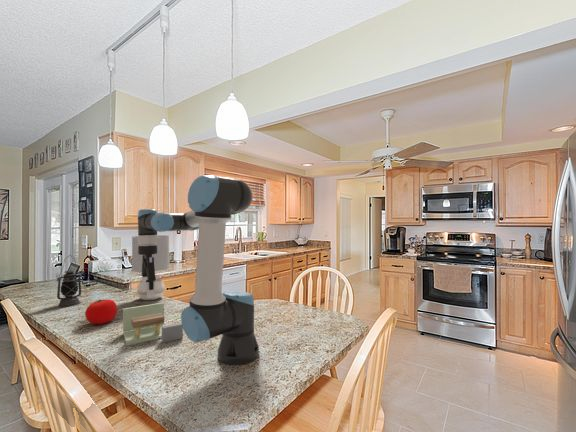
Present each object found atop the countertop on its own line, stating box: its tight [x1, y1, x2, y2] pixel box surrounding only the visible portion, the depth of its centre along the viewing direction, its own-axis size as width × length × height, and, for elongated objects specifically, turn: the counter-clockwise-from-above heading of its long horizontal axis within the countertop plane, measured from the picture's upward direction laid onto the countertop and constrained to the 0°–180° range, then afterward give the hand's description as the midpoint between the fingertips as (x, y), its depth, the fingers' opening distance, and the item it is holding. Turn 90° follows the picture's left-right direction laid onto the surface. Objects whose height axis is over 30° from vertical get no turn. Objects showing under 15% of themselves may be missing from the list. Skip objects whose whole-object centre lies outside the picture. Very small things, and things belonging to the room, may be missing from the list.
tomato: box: [84, 299, 118, 325], centre depth 144 cm, size 12×14×11 cm
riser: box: [161, 322, 184, 344], centre depth 123 cm, size 2×8×6 cm, turn 124°
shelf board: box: [132, 313, 165, 328], centre depth 126 cm, size 6×12×2 cm, turn 124°
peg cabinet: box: [122, 302, 166, 346], centre depth 129 cm, size 16×17×11 cm
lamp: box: [131, 234, 170, 301], centre depth 189 cm, size 22×22×40 cm
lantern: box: [56, 254, 82, 308], centre depth 178 cm, size 12×11×30 cm
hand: (148, 294), depth 126 cm, fingers open, 13 cm apart
